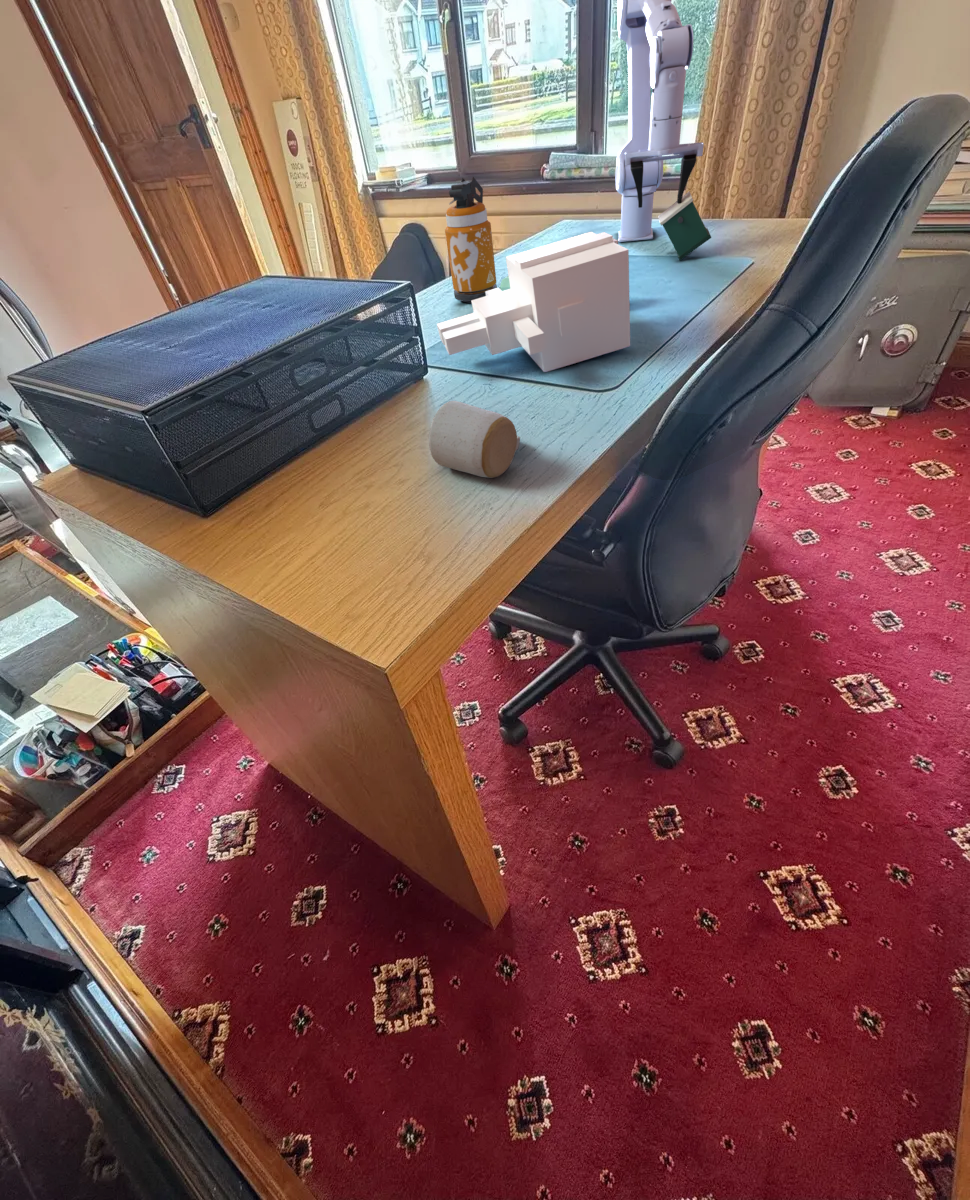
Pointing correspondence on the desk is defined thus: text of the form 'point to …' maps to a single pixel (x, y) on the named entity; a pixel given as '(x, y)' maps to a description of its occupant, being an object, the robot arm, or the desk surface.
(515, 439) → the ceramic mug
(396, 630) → the desk surface
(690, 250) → the green and cream block
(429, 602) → the desk surface
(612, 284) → the blocky voxel creature
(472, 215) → the canister
